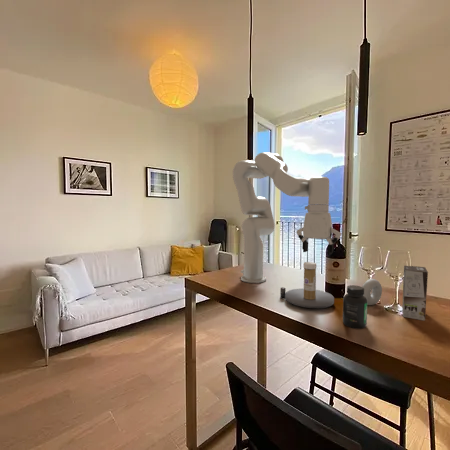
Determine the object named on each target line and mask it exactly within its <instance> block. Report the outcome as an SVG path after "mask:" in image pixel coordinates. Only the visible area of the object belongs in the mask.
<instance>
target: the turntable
mask: <svg viewBox="0 0 450 450" xmlns="http://www.w3.org/2000/svg"><path fill="white" fill-rule="evenodd" d="M303 296H304V288H293V289H289V290H287V291H285V299H284V300H286V301H287V302H288V303H289V304H291V305H294V306H297V307H302V308H308V309H324V308H329V307H331V306H333V305H334V304H335V297H334V296H333V295H332V294H331V293H329V292H327V291H324V290H319V289H316V298H315V299H313V300H309V299H305V298H304V297H303Z"/></svg>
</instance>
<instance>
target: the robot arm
mask: <svg viewBox="0 0 450 450" xmlns="http://www.w3.org/2000/svg"><path fill="white" fill-rule="evenodd" d="M288 170H289V168H288V165H287V164H286V163H285V162H284V159H283V157H282V156H281V155H280V154H279V153H273V152H266V151H265V152H263V151H262V152H260V153H258V154H257V155H256V156H255V158H254V160H244V159H242V160H240V161H239V160H238V161H237V162H236V163H235V164H234V166H233V170H232V180H233V183H234V185H235V188H236V192H237V197H238V201H239V205H240V209H241V212H242V214H243V215H245V216H250V217H247V218H246V219H244V220H243V221H242V224H241V231H242V236H243V237H242V238H243V268H242V269H241V270H240V273H242V276H241V277H240V281H242V282H244V283H249V284H251V283H252V284H260V283H264V282H266V281H267V277H266V276H265V275H264V244H263V241H262V238H261V237H262V236H268V235H269V236H270V235H271V234H273V232H274V231H275V219H274V215H273V212H272V207H271V204H270V202H269V200H268V199H267V198H266V197H264V196H257V195H256V192H255V188H254V186H253V184H252V183H251V181H250V179H259V180H260V179H264V178H267V177H269V178H270V179H271V180H272V182H273V185H274V187H276V188H277V189H278V190H279V191H280V192H282V193H283V194H285V195H287V196H289V197H302V198H303V197H306V198H308V201H307V202H308V203H307V206H304V210H306V211H307V212H305V215H304V221H303V227H302V228H301V227H300V228H299V229H296V234H297V236H298V238H299V240H300V242H301V243H302V244H301V245H302V247H301V249H302V251H303V253H306V252H308V251H309V241H308V240H309V239H314V240H316V239H317V240H326V241H327V242H328V244H327V252H326V253H327V255H328V256H331V255H332V254H333V253H334V244H335V243H336V242H337V241H338V240H339V239H340V238H341V236H342V233H341V232H340V231H339V230H336V229H335V228H333V222H332V216H331V212H330V211H329V209H330V208H329V205H330V200H329V199H330V179H329V178H328V177H326V176H313V177H311V178H309V177H308V178H306V177H295V176H293V175H290V174H289V173H288ZM333 235H335V237H334V238H333Z"/></svg>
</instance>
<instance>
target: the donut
mask: <svg viewBox="0 0 450 450" xmlns="http://www.w3.org/2000/svg"><path fill="white" fill-rule="evenodd" d="M361 287H363V288H364V295H363V296H365V297H366V298H367V306H374V305H375V304H377V303H378V302H379V301H380V299H381V297H382V295H383V287H382V284H381V282H380V281H379V280H377V279H375V278H368V279H367V280H366V281H365V282H364V283H363V284H362V286H361Z"/></svg>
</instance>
